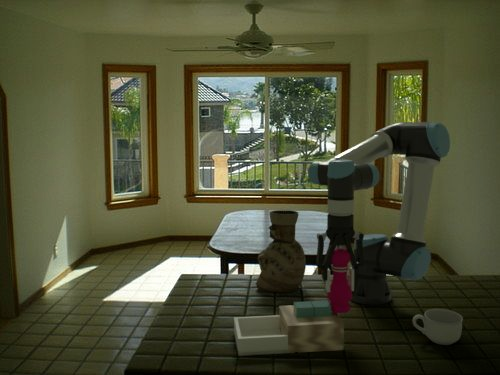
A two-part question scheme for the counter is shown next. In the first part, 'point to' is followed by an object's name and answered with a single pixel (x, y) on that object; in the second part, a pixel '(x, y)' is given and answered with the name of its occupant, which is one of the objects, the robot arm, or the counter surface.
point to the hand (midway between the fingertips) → (339, 290)
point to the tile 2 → (321, 308)
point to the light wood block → (311, 331)
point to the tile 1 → (303, 309)
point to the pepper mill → (340, 282)
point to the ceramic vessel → (282, 256)
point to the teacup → (441, 325)
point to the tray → (259, 335)
